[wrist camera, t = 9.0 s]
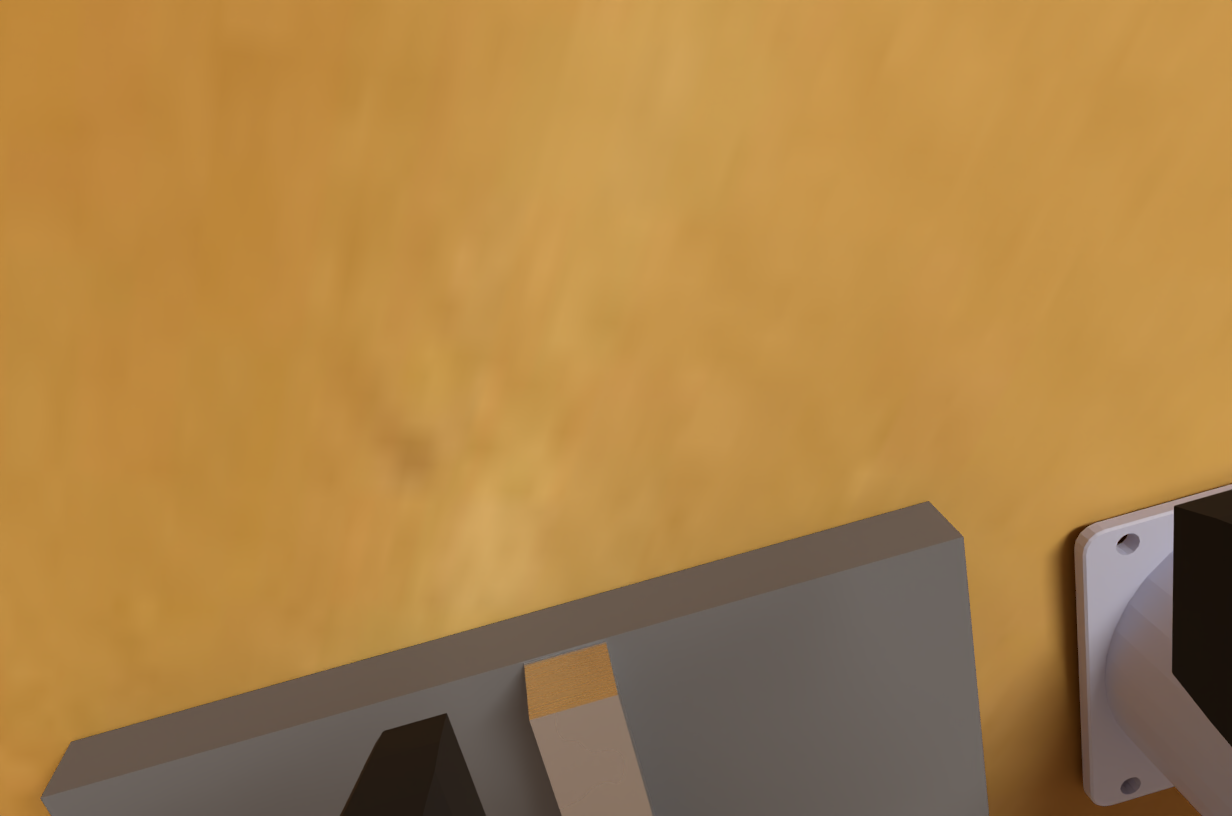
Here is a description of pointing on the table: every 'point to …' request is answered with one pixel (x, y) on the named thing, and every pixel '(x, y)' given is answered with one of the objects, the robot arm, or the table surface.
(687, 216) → the table surface
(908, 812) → the board
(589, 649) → the shafts
